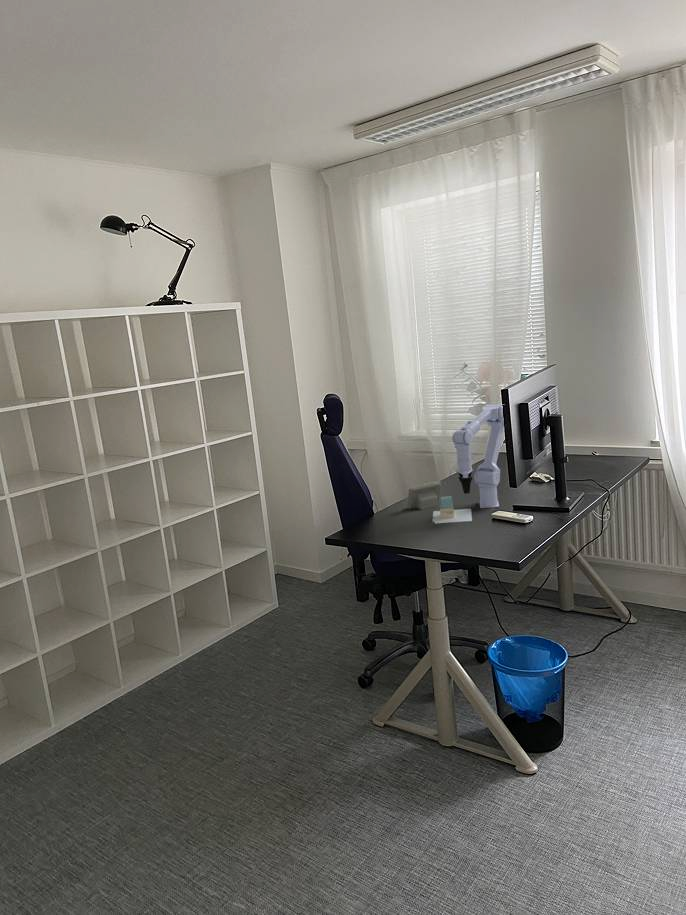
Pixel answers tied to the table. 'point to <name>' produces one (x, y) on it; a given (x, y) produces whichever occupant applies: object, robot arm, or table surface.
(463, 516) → the board
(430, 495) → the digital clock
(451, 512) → the base block
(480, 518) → the table surface
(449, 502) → the teal block
